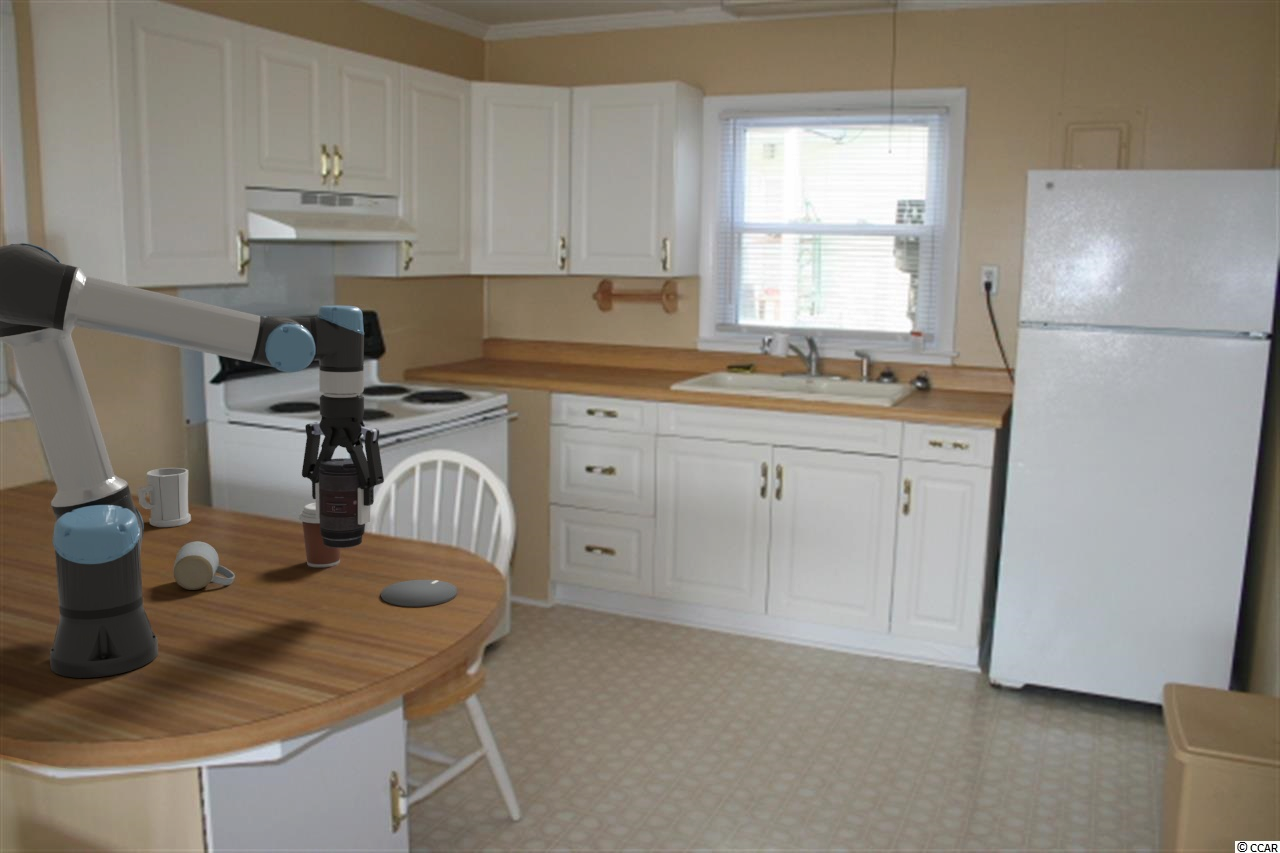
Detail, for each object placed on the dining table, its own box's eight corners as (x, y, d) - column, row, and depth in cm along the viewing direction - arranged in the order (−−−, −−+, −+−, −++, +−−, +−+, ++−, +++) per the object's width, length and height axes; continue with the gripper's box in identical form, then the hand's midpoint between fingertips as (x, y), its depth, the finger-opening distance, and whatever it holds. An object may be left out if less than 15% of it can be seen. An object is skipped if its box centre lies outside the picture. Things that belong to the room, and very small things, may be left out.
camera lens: (375, 544, 195) (375, 462, 193) (335, 552, 189) (334, 467, 187) (350, 534, 201) (350, 455, 198) (310, 542, 195) (310, 460, 192)
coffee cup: (312, 572, 216) (310, 513, 214) (292, 561, 222) (290, 504, 220) (354, 564, 222) (353, 506, 219) (334, 553, 228) (332, 498, 226)
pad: (433, 610, 195) (433, 607, 195) (366, 601, 199) (366, 597, 199) (470, 587, 208) (470, 584, 208) (406, 579, 213) (406, 575, 212)
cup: (178, 530, 244) (175, 477, 242) (137, 529, 244) (134, 477, 242) (197, 518, 254) (195, 468, 252) (158, 517, 254) (156, 467, 252)
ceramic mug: (172, 593, 201) (171, 553, 200) (177, 580, 209) (175, 541, 208) (233, 590, 205) (232, 550, 203) (235, 577, 212) (234, 539, 211)
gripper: (405, 396, 191) (405, 521, 195) (304, 387, 197) (306, 508, 201) (382, 401, 184) (382, 531, 188) (278, 391, 190) (280, 517, 194)
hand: (342, 519), depth 194 cm, fingers closed on camera lens, 8 cm apart
